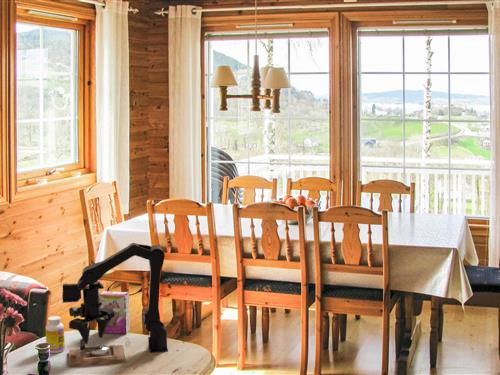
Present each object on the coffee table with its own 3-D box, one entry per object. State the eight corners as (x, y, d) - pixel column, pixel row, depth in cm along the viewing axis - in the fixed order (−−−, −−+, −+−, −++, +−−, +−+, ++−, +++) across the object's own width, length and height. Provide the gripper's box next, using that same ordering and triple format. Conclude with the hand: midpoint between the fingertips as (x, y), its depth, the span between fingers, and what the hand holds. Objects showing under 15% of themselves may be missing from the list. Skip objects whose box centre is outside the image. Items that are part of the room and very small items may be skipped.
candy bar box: (99, 333, 312) (98, 294, 310) (103, 329, 317) (102, 290, 314) (126, 334, 310) (125, 295, 308) (130, 330, 315) (129, 291, 313)
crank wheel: (108, 350, 289) (108, 334, 288) (110, 356, 282) (109, 340, 281) (79, 352, 287) (79, 337, 286) (80, 359, 280) (79, 343, 279)
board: (123, 348, 295) (122, 342, 295) (125, 362, 281) (125, 355, 280) (69, 352, 291) (69, 346, 291) (69, 367, 276) (68, 360, 276)
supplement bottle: (60, 354, 289) (58, 321, 287) (43, 353, 291) (42, 320, 289) (67, 348, 296) (66, 315, 294) (51, 347, 297) (50, 314, 295)
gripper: (92, 291, 298) (94, 330, 300) (56, 303, 282) (59, 344, 284) (114, 295, 292) (116, 334, 294) (79, 308, 276) (81, 350, 279)
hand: (93, 340), depth 288 cm, fingers open, 7 cm apart
